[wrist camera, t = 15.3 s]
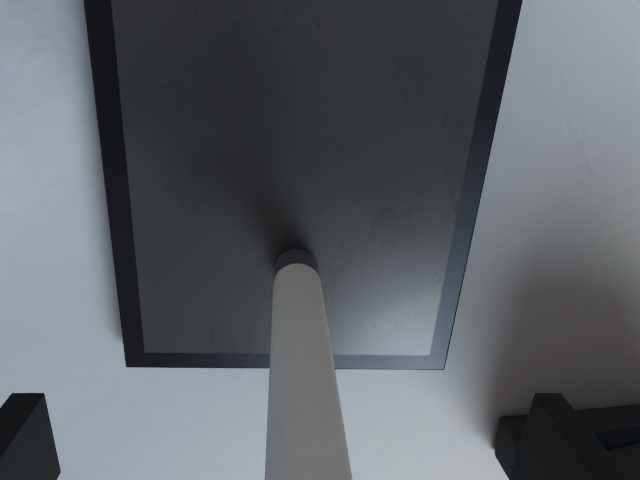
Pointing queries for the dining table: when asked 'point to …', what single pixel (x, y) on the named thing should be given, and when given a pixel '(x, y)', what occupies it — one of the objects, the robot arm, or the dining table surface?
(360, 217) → the tablet
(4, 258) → the dining table surface
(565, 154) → the dining table surface
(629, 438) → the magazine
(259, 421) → the dining table surface
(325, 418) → the stylus
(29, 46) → the dining table surface
